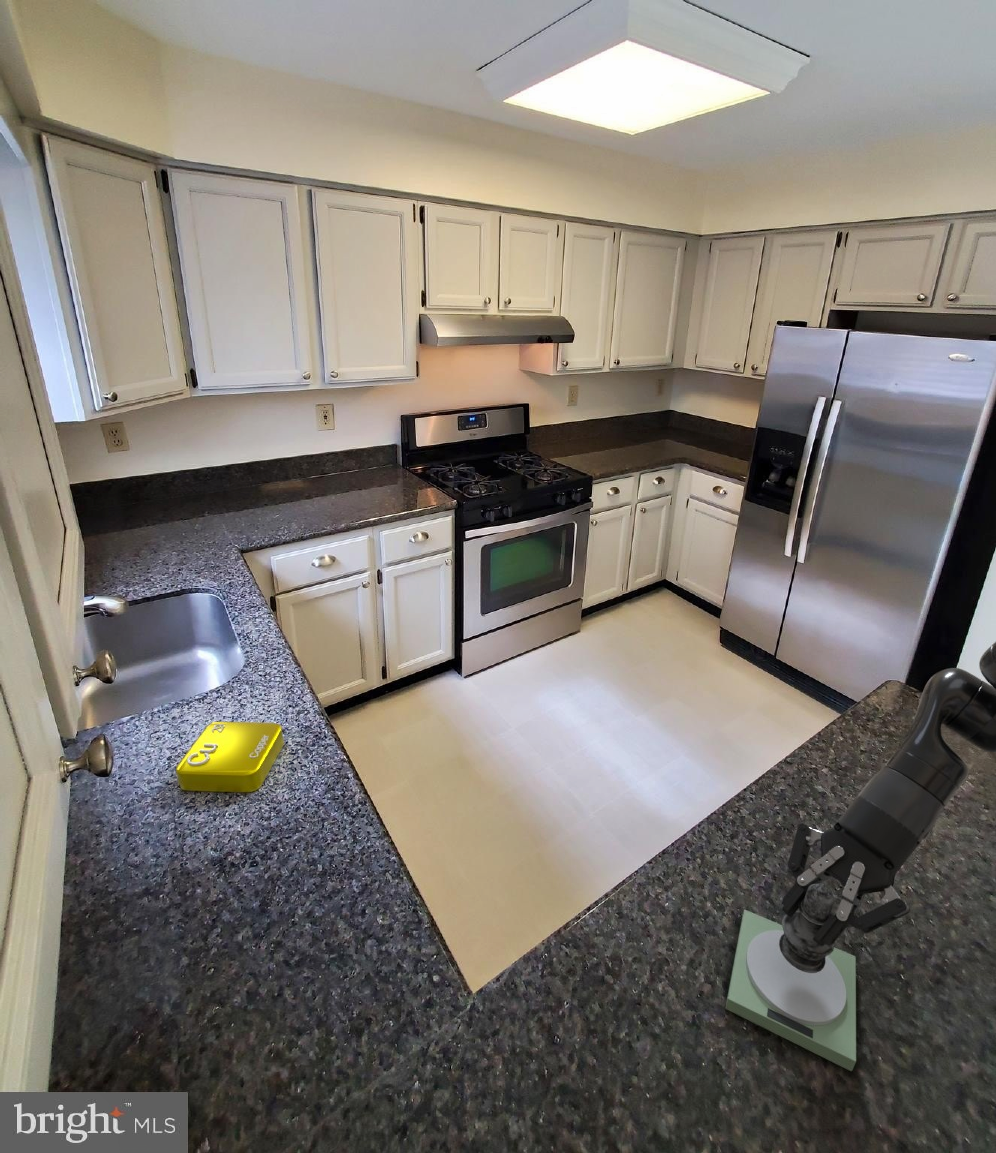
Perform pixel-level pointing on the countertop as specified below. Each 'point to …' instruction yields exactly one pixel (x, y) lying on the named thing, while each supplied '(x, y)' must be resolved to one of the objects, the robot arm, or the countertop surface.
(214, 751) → the element tile
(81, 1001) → the countertop surface
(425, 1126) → the countertop surface
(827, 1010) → the scale
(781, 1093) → the countertop surface
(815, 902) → the chess piece
